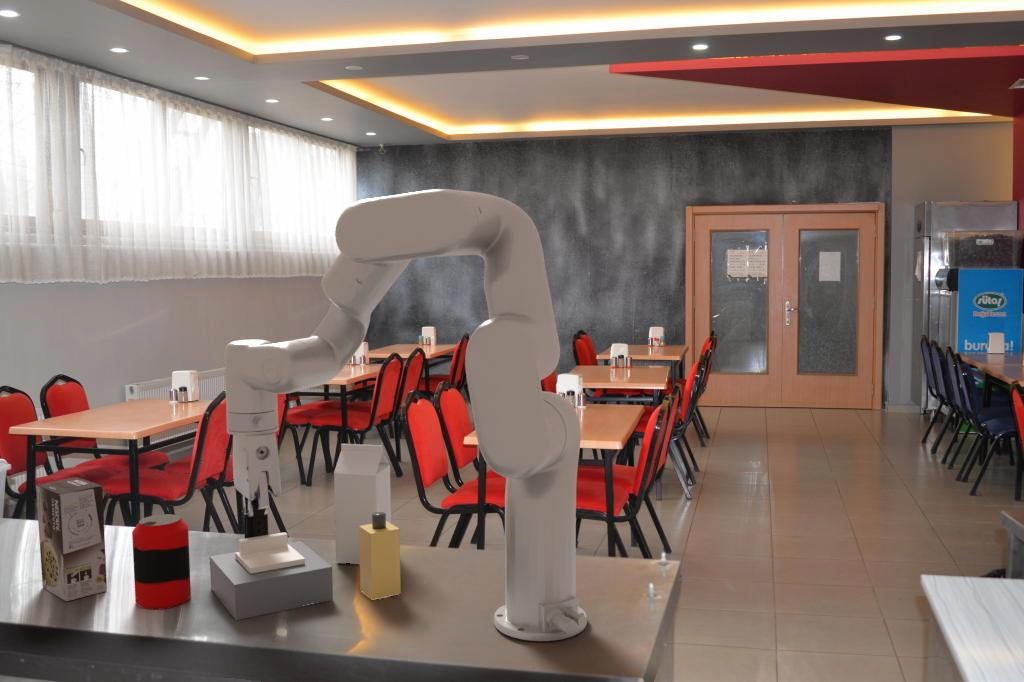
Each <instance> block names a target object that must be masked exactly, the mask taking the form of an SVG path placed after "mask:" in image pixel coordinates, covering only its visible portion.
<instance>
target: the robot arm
mask: <svg viewBox="0 0 1024 682" xmlns="http://www.w3.org/2000/svg"><path fill="white" fill-rule="evenodd" d="M334 231H335V233H334V236H335V237H334V238H335V243H336V245H337V248H338V250H339V252H340V253H339V254H338V256H337V257H336V258H335V259H334V261H333V262H332V264H331V265H330V266H329V268H328V269H327V270H326V272H325V273H324V275H323V276H322V278H321V289H322V291H323V294H324V295H325V296H326V297H327V299H328V300H329V301H330V302H331V303H330V305H329V306H330V307H329V309H328V312H326V315H325V316H324V318H323V319H322V321H320V323H319V324H318V326H317V327H316V329H315V330H314V331H313V332H312V334H311V335H310V336H309V337H304V338H298V339H291V340H287V341H286V340H285V341H281V342H275V343H273V342H272V341H270V340H266V339H256V338H255V339H254V338H253V339H252V338H251V339H238V340H233V341H231V342H229V343H228V344H226V346H225V348H224V380H225V381H224V382H225V406H226V409H225V410H226V433H227V434H228V435H230V436H231V435H232V475H233V476H232V477H233V484H234V485H233V486H234V487H235V489H236V491H238V492H239V493H240V494H241V495H242V505H243V506H242V507H243V528H244V530H243V531H244V539H246V538H252V537H259V536H265V535H269V517H268V515H269V514H268V513H269V509H270V500H269V494H271V495H272V496H273V497H275V498H278V497H280V496H281V494H282V485H281V484H282V483H281V472H280V471H281V470H280V469H281V467H280V459H279V457H280V456H279V449H278V442H277V436H276V432H278V431H279V408H278V407H279V406H278V395H279V394H280V395H284V394H285V395H286V394H291V393H296V392H299V391H304V390H306V389H309V388H315V387H318V386H322V385H326V384H327V383H330V381H332V380H333V379H335V378H336V377H337V376H338V375H339V374H340V373H341V372H342V371H343V369H344V368H345V367H346V366H347V364H348V363H349V362H350V360H352V358H353V357H354V356H355V354H357V352H358V350H359V348H361V345H362V344H363V342H364V340H365V338H366V335H367V332H368V329H369V326H370V322H371V316H372V313H373V311H374V310H375V309H376V307H377V305H378V304H379V303H380V302H381V300H382V299H384V297H385V295H386V294H387V292H388V291H389V290H390V289H391V287H392V286H393V285H394V284H395V283H396V281H397V279H398V278H399V277H400V276H401V275H402V274H403V272H404V271H405V269H407V267H408V266H409V264H410V263H411V262H412V261H413V260H416V259H427V258H439V257H452V256H453V257H454V256H455V257H458V256H462V257H463V256H479V257H481V258H482V259H483V262H484V270H483V271H484V273H483V287H484V295H485V299H486V304H487V312H488V319H487V320H485V321H483V322H482V323H481V324H479V325H478V326H477V327H476V328H475V330H474V331H473V333H471V336H470V337H469V339H468V342H467V346H466V348H465V349H466V350H465V358H464V366H465V375H466V377H465V378H466V383H467V388H468V394H469V395H468V396H469V401H470V405H471V411H472V417H473V421H474V422H473V423H474V428H475V433H476V439H477V443H478V446H479V451H480V453H481V455H482V457H483V459H484V461H485V463H486V464H487V466H489V468H490V469H491V470H492V471H493V472H495V473H496V474H497V475H499V476H501V477H503V478H505V479H506V480H505V493H504V565H505V566H504V571H505V572H504V575H505V576H504V581H505V582H504V583H505V584H504V585H505V587H504V588H505V589H504V590H505V593H504V595H505V598H504V599H505V604H503V605H502V606H500V607H498V608H497V609H496V610H495V613H494V614H493V623H494V627H495V628H496V629H497V630H498V631H499V632H500V633H502V634H504V635H506V636H508V637H511V638H514V639H518V640H523V641H529V642H551V641H553V642H554V641H560V640H564V639H569V638H573V637H574V636H576V635H579V634H580V633H581V632H583V631H584V630H585V629H586V627H587V624H588V619H587V618H588V615H587V613H586V612H585V610H584V609H583V608H581V606H579V598H578V597H576V578H577V577H576V572H577V571H576V564H577V563H576V562H577V561H576V559H577V556H576V555H577V554H576V547H577V546H576V543H577V542H576V539H577V538H576V537H577V535H576V532H577V530H576V529H577V525H576V524H577V523H576V520H577V519H576V518H577V517H576V513H577V479H578V478H577V477H578V467H579V460H580V459H579V458H580V450H581V439H582V437H581V435H582V433H581V431H582V430H581V423H580V422H581V421H580V419H579V416H578V413H577V411H576V409H575V407H574V406H573V405H572V404H571V402H570V401H569V400H567V398H565V397H563V395H561V394H558V393H556V392H552V391H544V390H543V389H542V380H544V379H546V378H547V377H549V376H550V375H552V373H553V372H554V371H555V370H556V368H557V367H558V365H559V361H560V358H561V347H560V346H561V345H560V339H559V334H558V331H557V324H556V317H555V312H554V306H553V301H552V296H551V295H552V294H551V290H550V286H549V281H548V276H547V269H546V263H545V256H544V250H543V246H542V241H541V238H540V234H539V231H538V228H537V227H536V224H535V223H534V221H533V219H532V218H531V217H530V216H529V215H528V214H527V212H526V211H524V209H522V208H521V206H519V205H517V204H516V203H514V202H512V201H510V200H507V199H506V198H503V197H500V196H496V195H492V194H490V193H484V192H478V191H470V190H459V189H449V188H435V189H426V190H421V191H415V192H414V191H413V192H408V193H407V192H406V193H401V194H394V195H387V196H380V197H379V196H378V197H372V198H364V199H359V200H357V201H355V202H353V203H352V204H350V205H348V207H346V208H345V209H344V210H343V212H342V213H341V214H340V216H339V217H338V219H337V222H336V225H335V230H334Z"/></svg>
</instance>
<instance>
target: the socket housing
mask: <svg viewBox="0 0 1024 682" xmlns="http://www.w3.org/2000/svg"><path fill="white" fill-rule="evenodd" d="M288 544H289V545H290V546H291V547H292V548H293V549H295V550H296V551H297V552H298V553H299V554H300V555H302V556H303V557H304V558H305V564H301V565H296V566H290V567H285V568H279V569H274V570H268V571H263V572H257V573H252V574H250V573H249V572H248V571H247V570H246V569H245V568H244V567H243V566H242V564H241V563H240V562H239V561H238V560H237V559H236V558H235V553H236V552H237V551H234V552H229V553H228V552H227V553H222V554H215V555H212V556H209V568H210V569H209V571H210V589H211V591H212V592H213V593H214V594H215V596H216V597H217V598H218V599H219V601H220V602H221V604H223V606H224V607H225V608H226V610H227V611H228V613H230V615H231V616H232V617H233V619H234V620H235V621H239V620H243V619H248V618H253V617H258V616H262V615H263V616H264V615H269V614H273V613H277V612H282V611H286V610H287V611H288V610H291V609H296V607H297V608H301V607H300V606H302V607H304V606H303V605H307V604H311V603H317V602H321V603H325V602H324V601H326V602H329V601H328V600H331V601H333V600H334V596H333V595H334V591H333V587H334V585H333V566H332V565H331V564H329V563H328V562H327V561H325V559H324V558H323V557H321V556H320V555H319V554H317V553H316V552H315V551H314V550H312V549H311V548H310V547H309V546H307V545H306V544H305V543H303V542H302V541H301V540H300V541H293V542H288ZM317 604H318V603H317ZM307 606H308V605H307Z"/></svg>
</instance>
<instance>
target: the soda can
mask: <svg viewBox="0 0 1024 682" xmlns="http://www.w3.org/2000/svg"><path fill="white" fill-rule="evenodd" d="M131 533H132V534H131V535H132V556H133V557H132V558H133V577H134V597H135V598H134V599H135V603H136V605H137V606H139V607H140V608H142V609H144V610H164V609H170V608H175V607H177V606H178V607H179V606H181V605H182V604H184V603H185V602H187V601H189V599H190V597H191V595H192V593H191V591H192V588H191V565H190V563H191V562H190V543H189V542H190V541H189V525H188V524H187V523H186V522H185V521H184V520H183V519H182V517H181V516H180V515H178V514H174V513H173V514H171V513H169V514H168V513H167V514H166V513H165V514H154V515H150V516H146V517H144V518H141V519H140V520H139V521H138V523H137V524H136V526H135V527H134V529H132V532H131Z"/></svg>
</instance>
